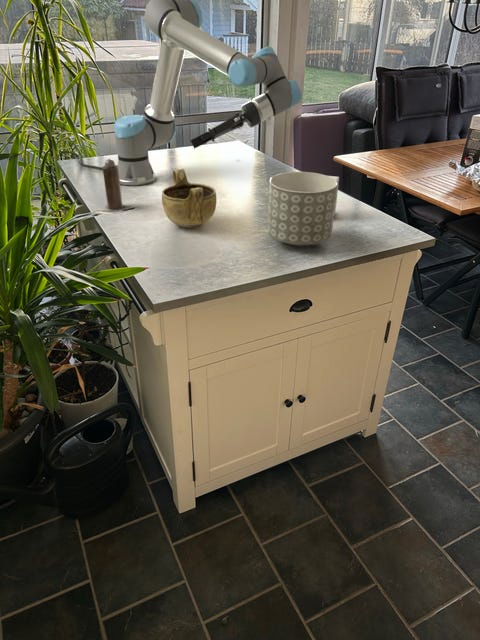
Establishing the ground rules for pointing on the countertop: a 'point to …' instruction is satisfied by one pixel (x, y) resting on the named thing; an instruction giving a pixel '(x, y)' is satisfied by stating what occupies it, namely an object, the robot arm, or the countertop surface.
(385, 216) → the countertop surface
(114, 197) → the pepper mill
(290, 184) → the planter
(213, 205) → the ceramic bowl
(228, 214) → the countertop surface
